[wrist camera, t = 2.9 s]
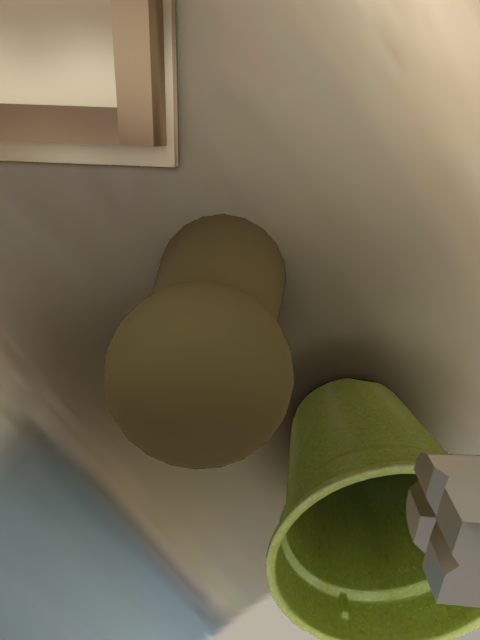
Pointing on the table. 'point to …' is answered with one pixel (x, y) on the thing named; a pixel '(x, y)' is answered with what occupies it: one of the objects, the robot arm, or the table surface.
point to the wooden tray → (89, 82)
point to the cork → (205, 349)
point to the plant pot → (356, 522)
